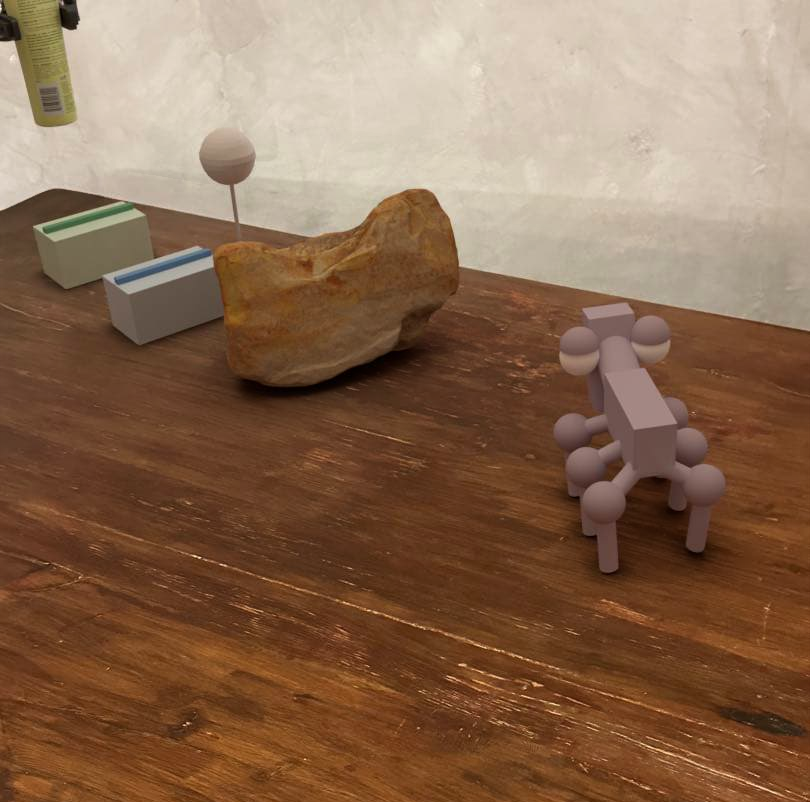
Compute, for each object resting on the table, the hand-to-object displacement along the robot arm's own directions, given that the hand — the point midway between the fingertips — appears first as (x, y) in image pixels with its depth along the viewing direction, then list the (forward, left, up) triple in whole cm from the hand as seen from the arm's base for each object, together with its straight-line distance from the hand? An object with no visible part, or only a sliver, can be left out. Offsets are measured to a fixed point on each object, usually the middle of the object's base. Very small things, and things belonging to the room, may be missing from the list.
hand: (45, 25), depth 124 cm
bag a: (+10, -28, -23) cm, 38 cm away
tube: (-1, +2, -11) cm, 11 cm away
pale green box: (+2, -12, -23) cm, 26 cm away
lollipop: (+18, -15, -24) cm, 33 cm away
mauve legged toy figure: (+45, -68, -24) cm, 85 cm away
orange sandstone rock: (+26, -38, -24) cm, 52 cm away
